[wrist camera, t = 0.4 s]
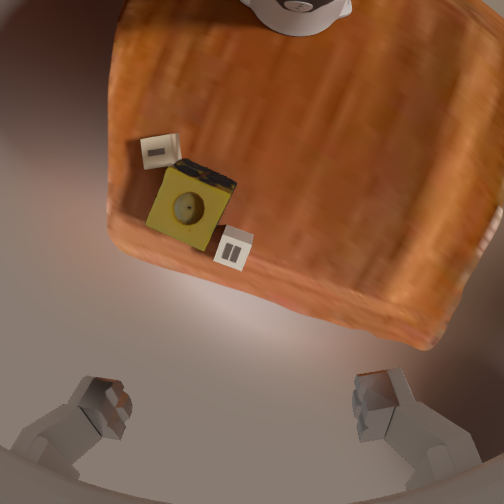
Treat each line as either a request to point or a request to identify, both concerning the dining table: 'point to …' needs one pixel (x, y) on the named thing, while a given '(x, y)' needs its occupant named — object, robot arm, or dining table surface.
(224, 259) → the cream block marked
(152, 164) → the beech block marked
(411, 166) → the dining table surface
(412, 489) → the robot arm
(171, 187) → the candle
